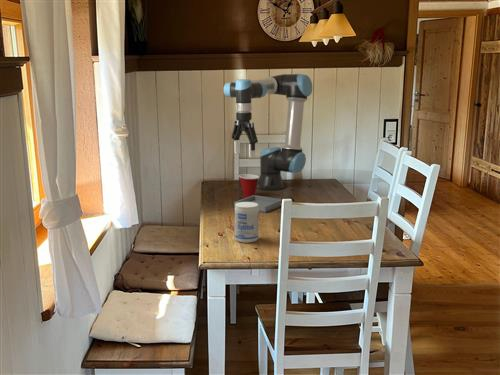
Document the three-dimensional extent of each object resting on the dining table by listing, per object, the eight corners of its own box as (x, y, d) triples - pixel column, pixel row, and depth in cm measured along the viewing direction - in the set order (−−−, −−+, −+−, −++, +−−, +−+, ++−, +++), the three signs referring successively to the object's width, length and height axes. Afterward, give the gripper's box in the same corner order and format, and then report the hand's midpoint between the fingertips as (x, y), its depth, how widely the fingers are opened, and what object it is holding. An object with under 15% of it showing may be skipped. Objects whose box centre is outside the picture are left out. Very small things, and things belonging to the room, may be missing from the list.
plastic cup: (257, 200, 282) (257, 177, 280) (237, 199, 284) (237, 177, 282) (261, 195, 293) (261, 173, 290) (241, 194, 295) (241, 173, 292)
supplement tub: (236, 244, 212) (236, 207, 208) (232, 236, 221) (232, 202, 218) (260, 242, 213) (260, 206, 210) (256, 235, 223) (255, 200, 219)
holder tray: (253, 200, 281) (253, 195, 281) (283, 205, 272) (283, 199, 271) (234, 208, 267) (234, 202, 266) (265, 213, 257) (265, 206, 256)
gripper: (224, 110, 269) (225, 152, 274) (251, 114, 249) (252, 159, 253) (236, 109, 273) (237, 151, 278) (264, 113, 253) (265, 157, 257)
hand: (244, 155), depth 266 cm, fingers open, 13 cm apart
